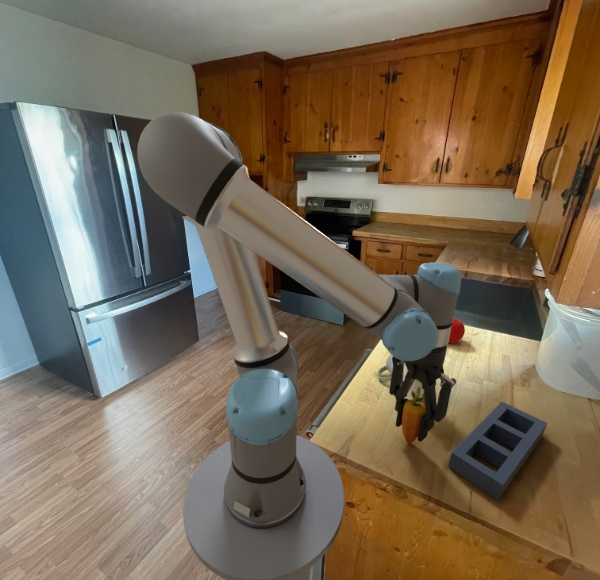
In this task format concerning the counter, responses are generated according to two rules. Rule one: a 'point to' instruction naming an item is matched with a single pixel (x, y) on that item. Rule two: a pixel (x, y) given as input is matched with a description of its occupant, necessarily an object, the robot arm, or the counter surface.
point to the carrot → (412, 416)
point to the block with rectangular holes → (497, 448)
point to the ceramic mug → (388, 367)
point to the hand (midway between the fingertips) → (411, 430)
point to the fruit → (456, 331)
